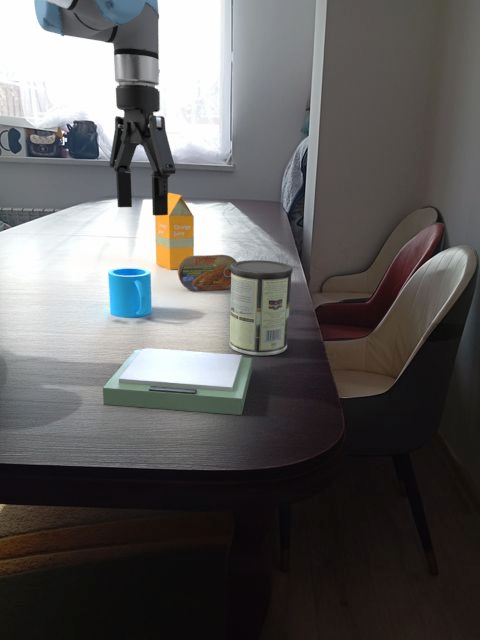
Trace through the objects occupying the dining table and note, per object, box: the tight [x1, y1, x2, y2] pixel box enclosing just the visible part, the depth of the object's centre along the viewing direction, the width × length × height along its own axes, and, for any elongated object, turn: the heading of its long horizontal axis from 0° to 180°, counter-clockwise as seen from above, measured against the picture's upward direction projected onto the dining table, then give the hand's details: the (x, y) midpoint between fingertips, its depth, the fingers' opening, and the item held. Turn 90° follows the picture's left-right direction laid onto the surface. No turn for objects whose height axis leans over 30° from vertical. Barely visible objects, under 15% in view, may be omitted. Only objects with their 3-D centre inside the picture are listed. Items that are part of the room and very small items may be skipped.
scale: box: [102, 347, 253, 416], centre depth 72 cm, size 18×14×3 cm
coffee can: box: [228, 259, 294, 357], centre depth 87 cm, size 10×10×14 cm
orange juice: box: [154, 192, 195, 271], centre depth 145 cm, size 8×9×20 cm
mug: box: [107, 267, 153, 318], centre depth 102 cm, size 12×8×8 cm
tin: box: [177, 254, 238, 292], centre depth 124 cm, size 15×3×8 cm, turn 112°
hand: (141, 211), depth 97 cm, fingers open, 13 cm apart
